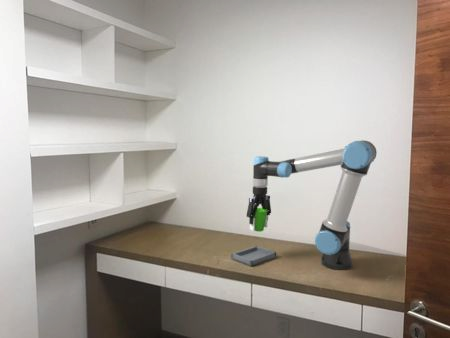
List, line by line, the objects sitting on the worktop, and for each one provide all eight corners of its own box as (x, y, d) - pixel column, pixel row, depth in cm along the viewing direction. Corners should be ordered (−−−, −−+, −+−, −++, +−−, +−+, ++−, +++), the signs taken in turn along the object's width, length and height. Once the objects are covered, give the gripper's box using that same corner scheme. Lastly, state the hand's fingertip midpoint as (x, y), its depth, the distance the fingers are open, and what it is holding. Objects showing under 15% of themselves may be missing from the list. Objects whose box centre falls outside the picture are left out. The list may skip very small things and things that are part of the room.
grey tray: (276, 257, 192) (276, 252, 191) (251, 266, 179) (251, 261, 179) (256, 250, 202) (256, 245, 202) (231, 259, 190) (231, 253, 189)
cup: (266, 233, 183) (267, 212, 182) (248, 231, 185) (249, 211, 184) (268, 228, 192) (268, 208, 191) (251, 227, 194) (251, 207, 193)
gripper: (268, 183, 196) (267, 223, 199) (239, 187, 181) (238, 230, 184) (279, 185, 190) (277, 226, 193) (250, 189, 176) (249, 234, 179)
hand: (258, 228), depth 189 cm, fingers closed on cup, 9 cm apart
